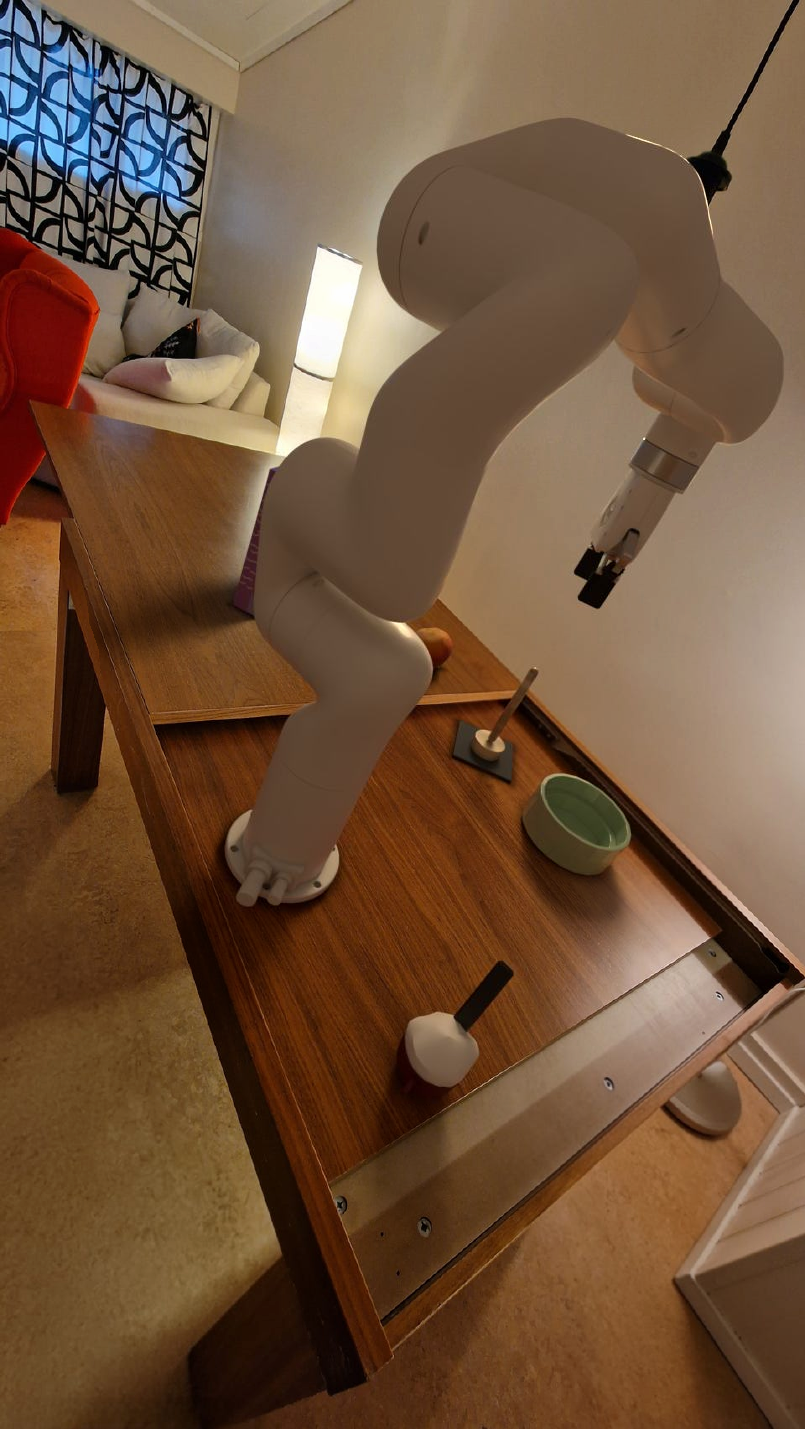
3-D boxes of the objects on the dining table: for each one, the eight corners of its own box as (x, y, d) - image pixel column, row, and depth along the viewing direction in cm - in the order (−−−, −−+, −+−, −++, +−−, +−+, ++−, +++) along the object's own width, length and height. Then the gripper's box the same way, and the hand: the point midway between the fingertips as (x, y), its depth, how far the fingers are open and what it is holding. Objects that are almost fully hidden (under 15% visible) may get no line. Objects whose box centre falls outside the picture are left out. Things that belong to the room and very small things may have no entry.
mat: (510, 782, 97) (511, 780, 96) (452, 756, 96) (453, 754, 96) (512, 746, 105) (513, 744, 105) (458, 721, 104) (459, 719, 104)
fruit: (441, 679, 110) (439, 634, 107) (403, 675, 114) (399, 633, 111) (460, 666, 116) (458, 624, 114) (423, 663, 120) (420, 622, 117)
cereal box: (257, 618, 104) (298, 482, 91) (232, 605, 105) (270, 467, 91) (302, 588, 119) (343, 467, 106) (280, 576, 119) (318, 454, 106)
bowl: (611, 893, 86) (637, 866, 83) (519, 851, 85) (541, 823, 82) (602, 824, 98) (624, 798, 94) (521, 787, 97) (540, 760, 93)
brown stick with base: (498, 765, 98) (552, 684, 89) (468, 752, 98) (519, 669, 89) (500, 747, 102) (551, 667, 93) (471, 734, 102) (520, 653, 93)
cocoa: (396, 1124, 52) (457, 1061, 46) (365, 1050, 56) (418, 981, 49) (480, 1083, 58) (545, 1022, 51) (447, 1018, 62) (504, 953, 55)
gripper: (625, 442, 81) (558, 558, 91) (645, 468, 67) (562, 602, 76) (676, 467, 82) (603, 580, 91) (706, 498, 67) (616, 628, 77)
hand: (585, 590), depth 84 cm, fingers open, 9 cm apart
